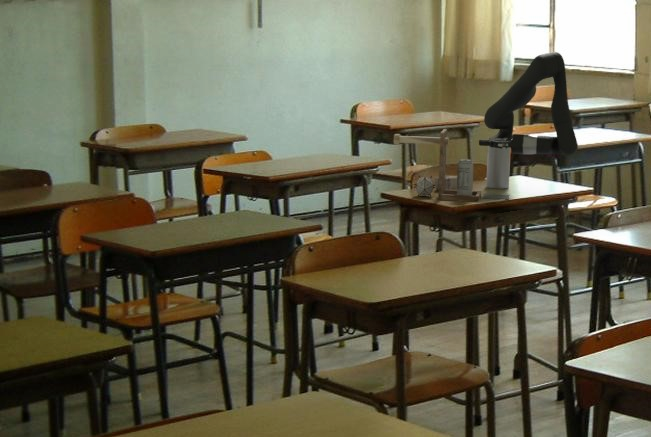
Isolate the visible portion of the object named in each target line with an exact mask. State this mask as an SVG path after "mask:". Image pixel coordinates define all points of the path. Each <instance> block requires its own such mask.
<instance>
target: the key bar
mask: <svg viewBox="0 0 651 437" xmlns="http://www.w3.org/2000/svg"><path fill="white" fill-rule="evenodd" d="M449 143H450V138H449V137H447V138H445V140H444V145H446V146H447V145H449ZM400 144H417V145H418V144H420V145H421V144H423V145H440V137H439V136H438V137H437V136H436V137H435V136H413V135H402V134H400V133H394V134H393V145H400Z"/></svg>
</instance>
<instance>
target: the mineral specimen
mask: <svg viewBox="0 0 651 437" xmlns="http://www.w3.org/2000/svg"><path fill="white" fill-rule="evenodd" d="M434 180H435V184H434V185H435V186H434V187H435V190H436V191H439V175H438V176H436V177H435V179H434ZM445 190H457V175H447V174H445Z"/></svg>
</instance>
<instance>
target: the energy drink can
mask: <svg viewBox="0 0 651 437" xmlns="http://www.w3.org/2000/svg"><path fill="white" fill-rule="evenodd" d="M458 161H459V162H458V163H457V171H456V172H457V195H469V196H472V191H473V184H474V182H473V181H474V163H473V159H468V158H462V159H459V160H458Z"/></svg>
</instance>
